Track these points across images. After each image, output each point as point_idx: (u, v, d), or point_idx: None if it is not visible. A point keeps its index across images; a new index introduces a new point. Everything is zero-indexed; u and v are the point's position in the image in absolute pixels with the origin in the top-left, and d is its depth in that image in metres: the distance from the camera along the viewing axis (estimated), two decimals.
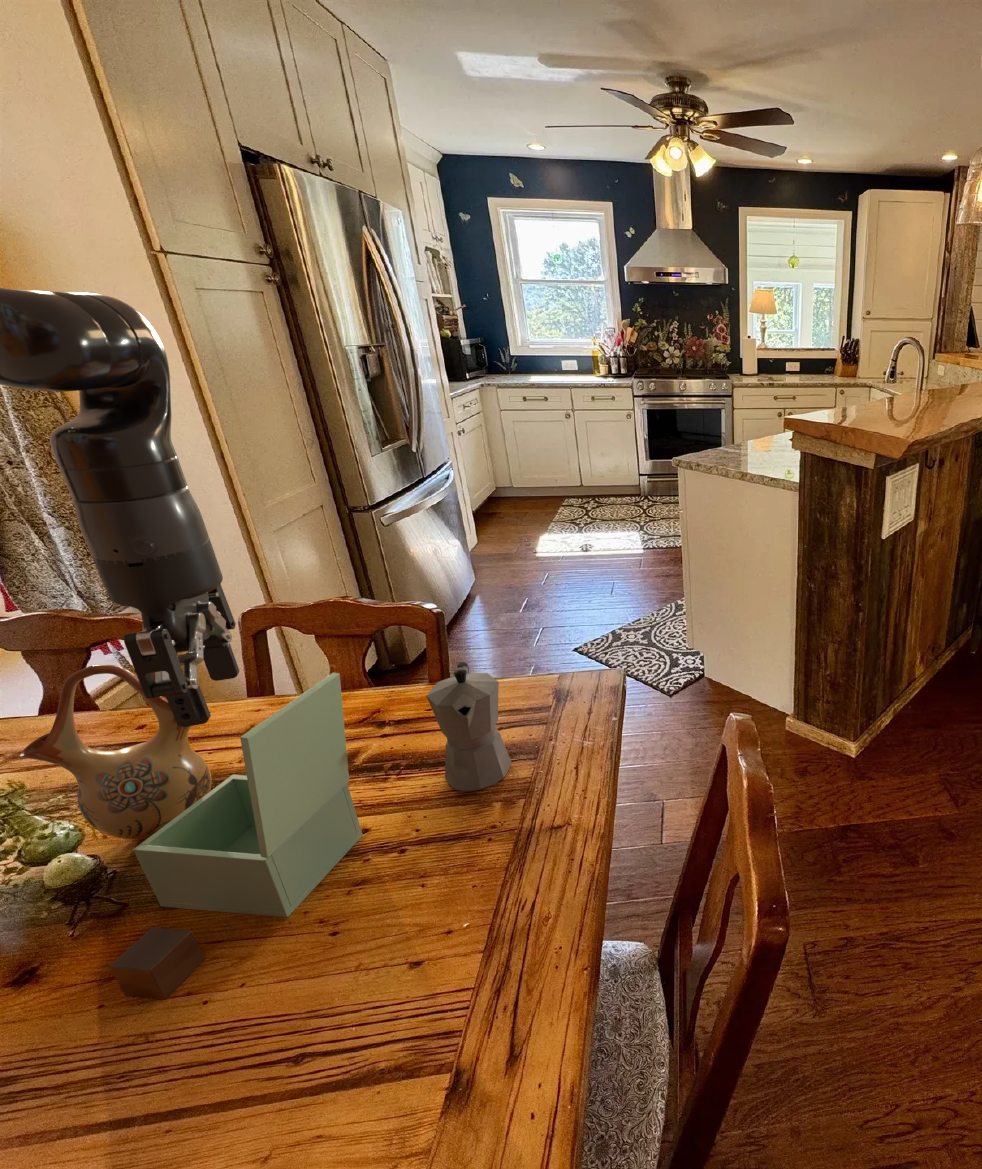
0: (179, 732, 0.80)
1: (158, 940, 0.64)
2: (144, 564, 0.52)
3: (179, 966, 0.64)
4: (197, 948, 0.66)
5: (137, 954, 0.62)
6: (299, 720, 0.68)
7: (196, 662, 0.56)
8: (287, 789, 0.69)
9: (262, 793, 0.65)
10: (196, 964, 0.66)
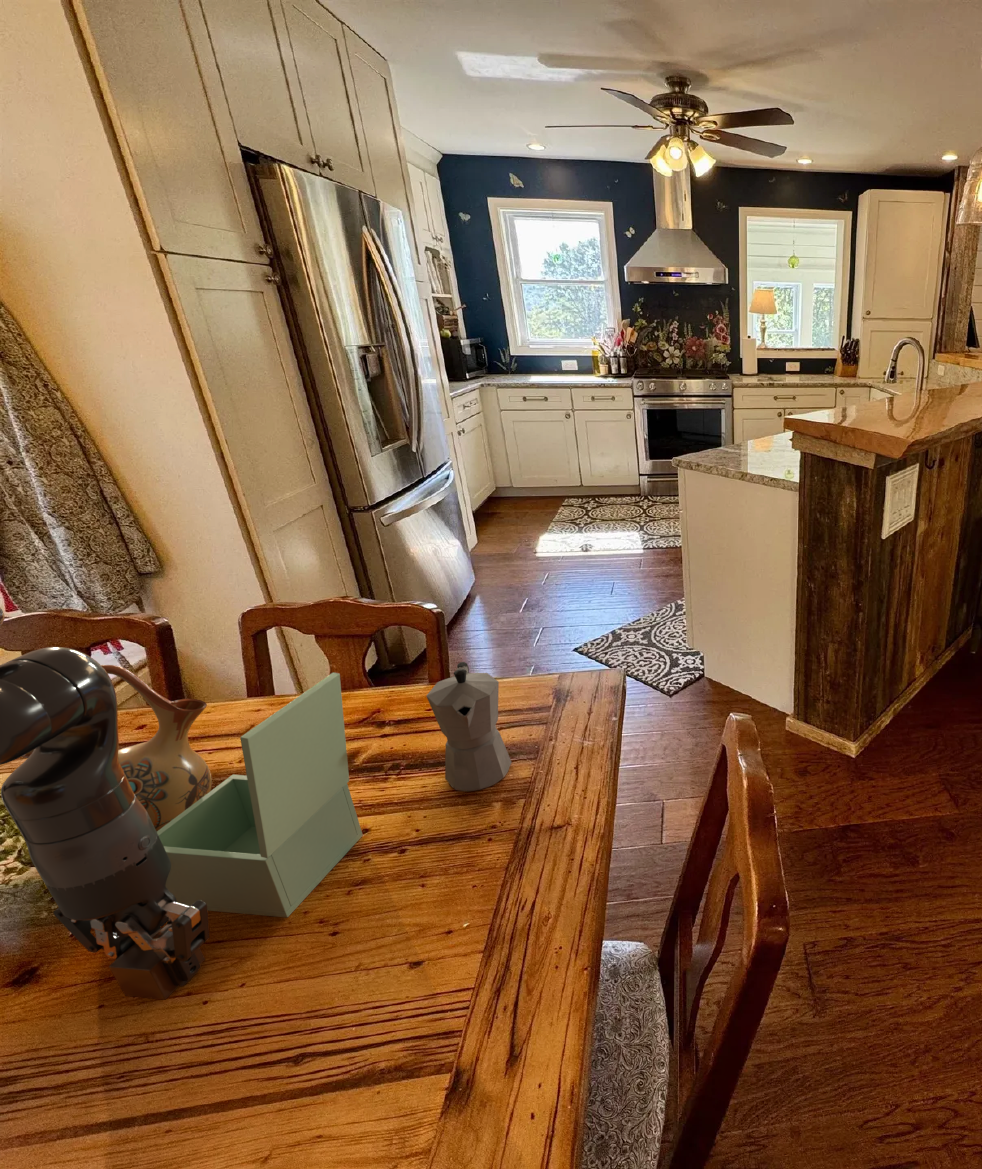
0: (179, 732, 0.80)
1: None
2: (147, 857, 0.59)
3: None
4: None
5: (137, 954, 0.62)
6: (299, 720, 0.68)
7: None
8: (287, 789, 0.69)
9: (262, 793, 0.65)
10: None
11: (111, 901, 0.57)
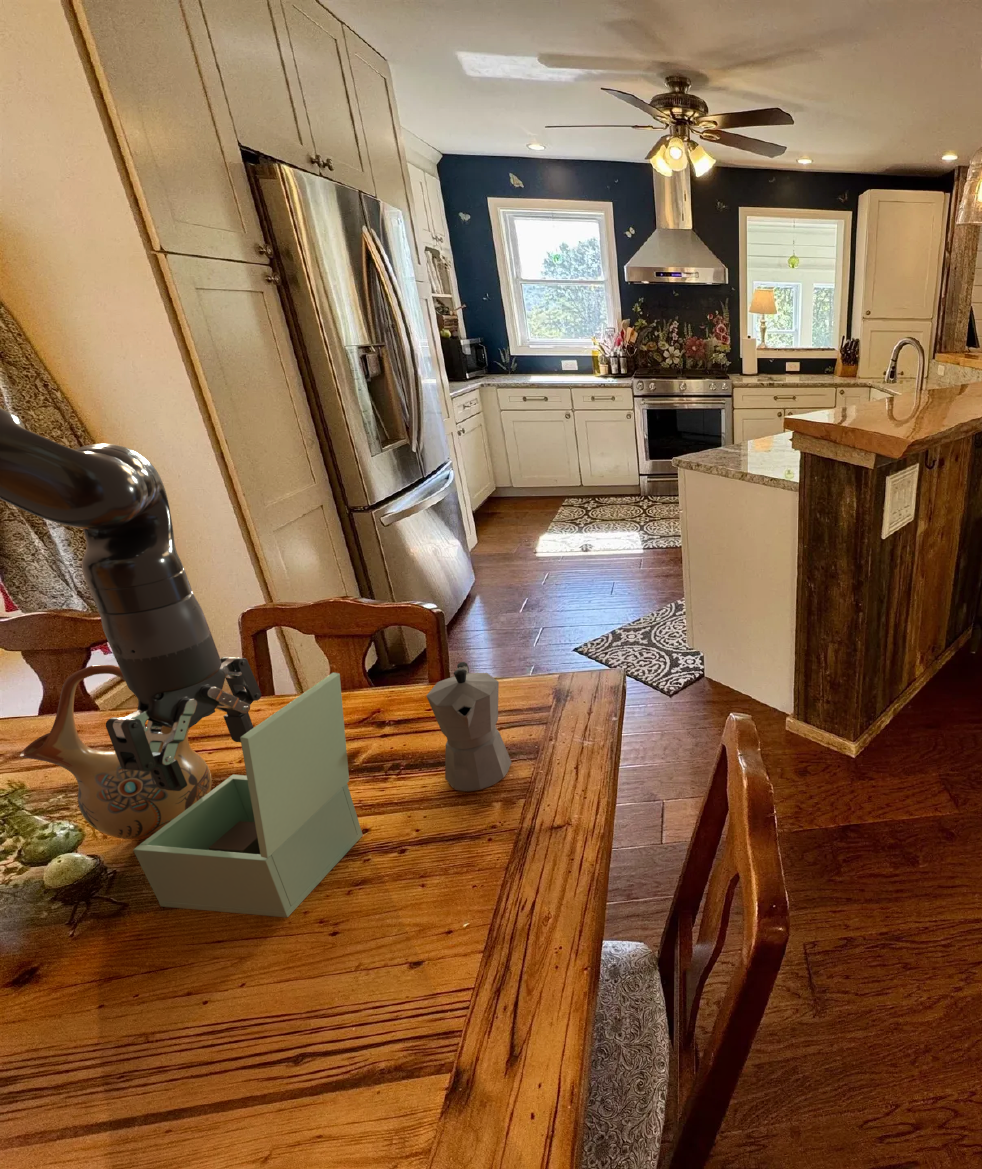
0: None
1: (234, 835, 0.76)
2: None
3: None
4: None
5: (243, 839, 0.75)
6: (299, 720, 0.68)
7: None
8: (287, 789, 0.69)
9: (262, 793, 0.65)
10: None
11: None
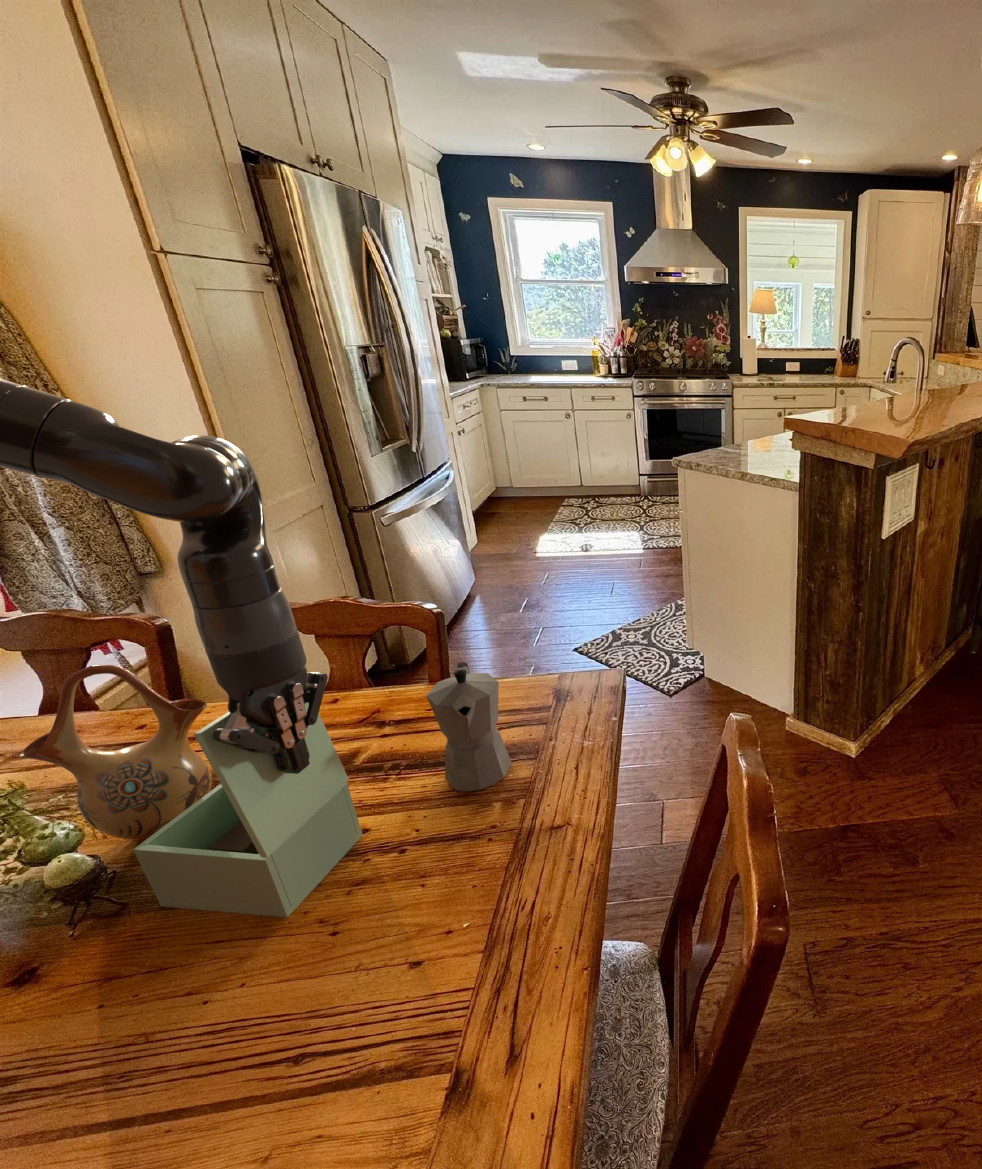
0: (179, 732, 0.80)
1: (234, 835, 0.76)
2: None
3: None
4: None
5: (243, 839, 0.75)
6: None
7: None
8: (269, 786, 0.69)
9: (238, 790, 0.65)
10: None
11: None
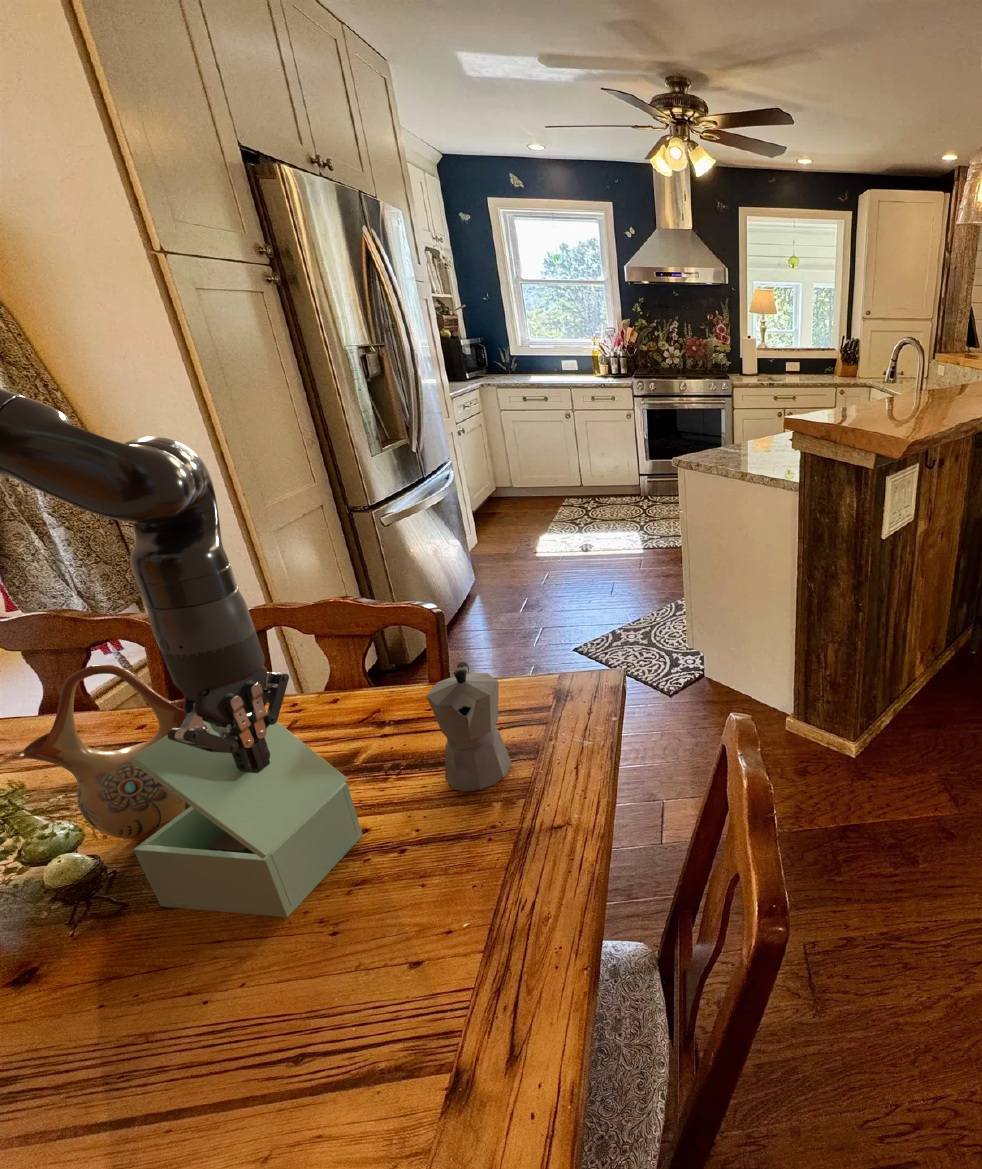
0: None
1: None
2: None
3: None
4: None
5: None
6: None
7: None
8: (242, 793, 0.69)
9: (201, 800, 0.66)
10: None
11: (261, 649, 0.68)
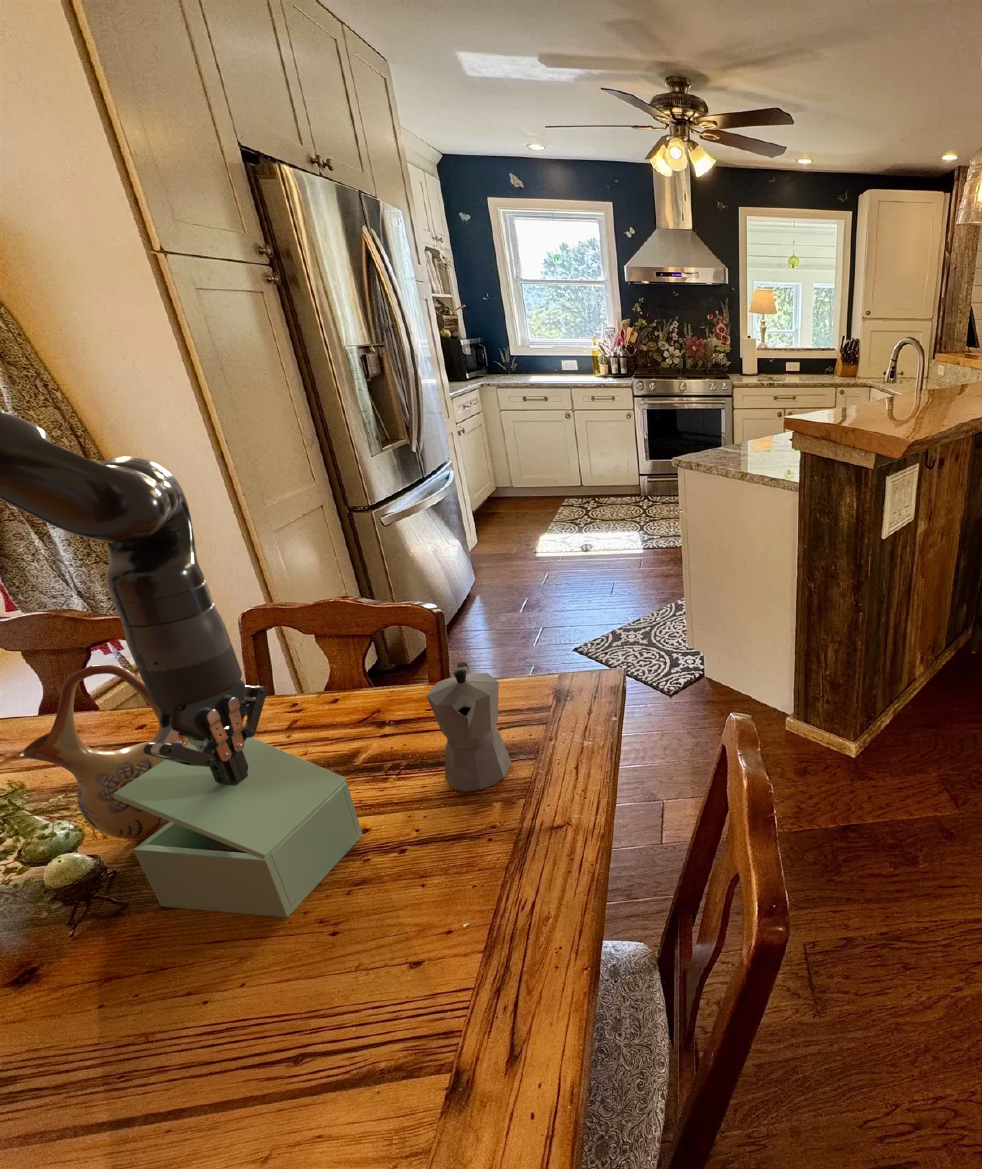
0: None
1: None
2: None
3: None
4: None
5: None
6: None
7: None
8: (233, 806, 0.70)
9: (190, 818, 0.67)
10: None
11: (238, 663, 0.69)
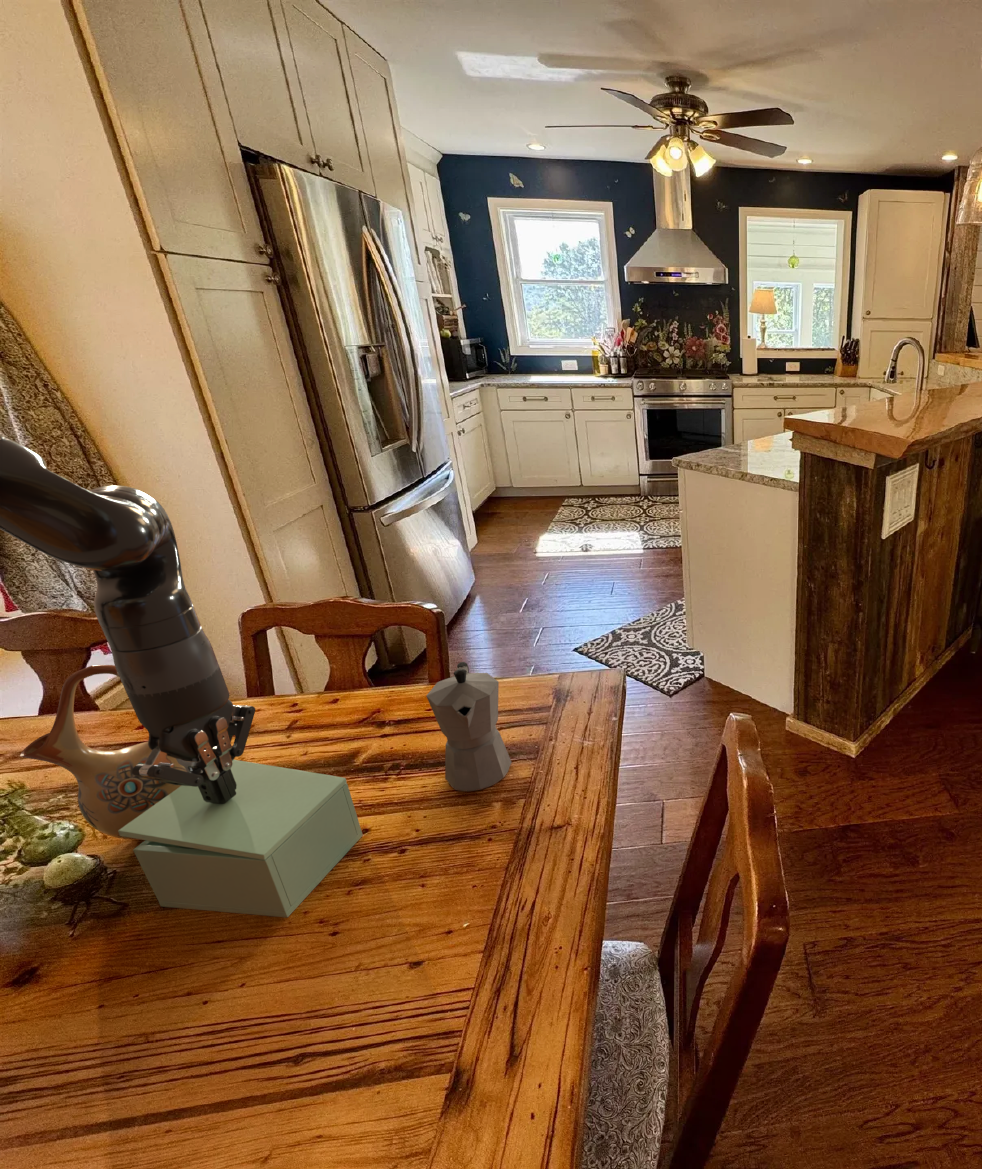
0: None
1: None
2: None
3: None
4: None
5: None
6: (191, 794, 0.74)
7: None
8: (232, 821, 0.71)
9: (190, 837, 0.68)
10: None
11: None
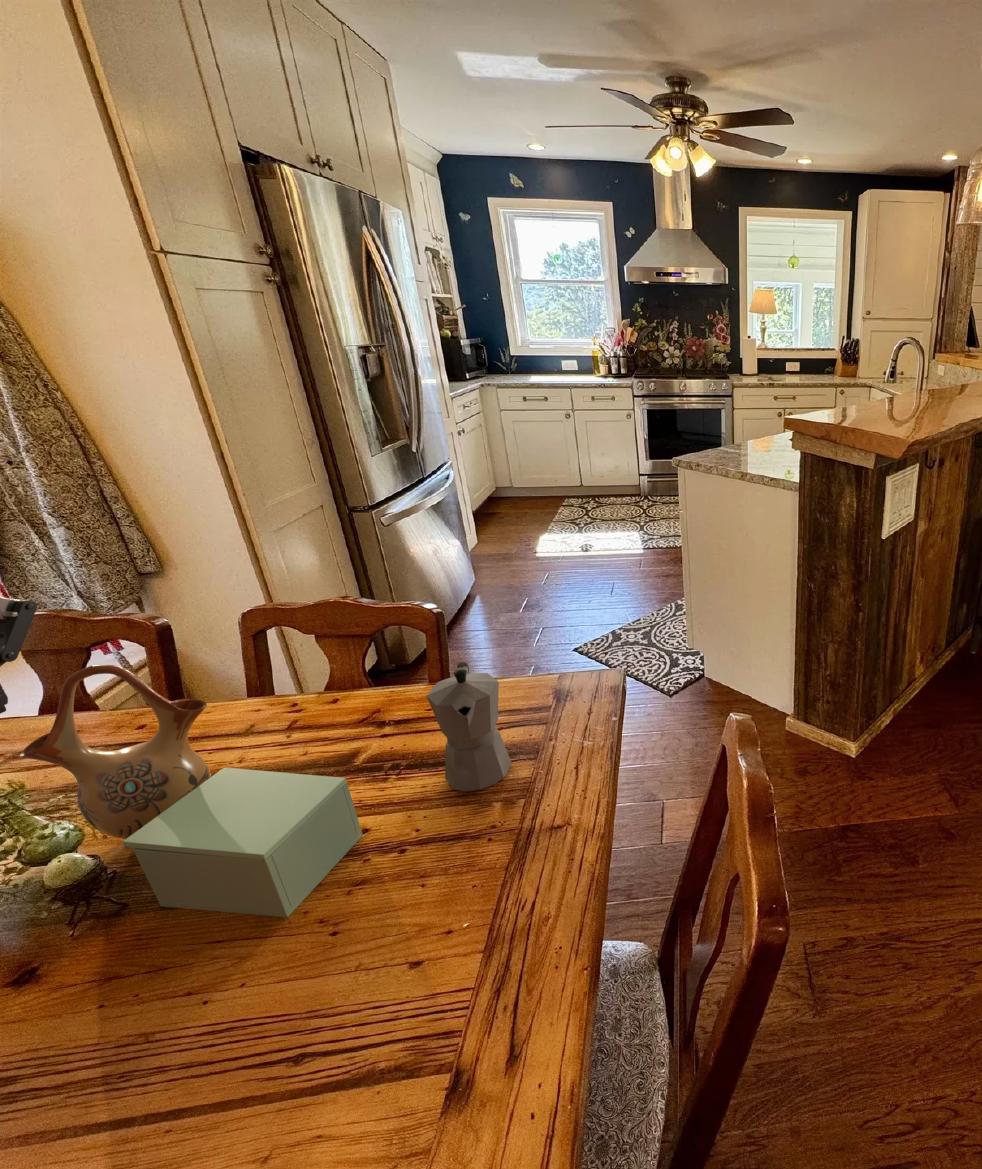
0: (179, 732, 0.80)
1: None
2: None
3: None
4: None
5: None
6: (194, 803, 0.74)
7: None
8: (233, 825, 0.71)
9: (192, 843, 0.69)
10: None
11: None
